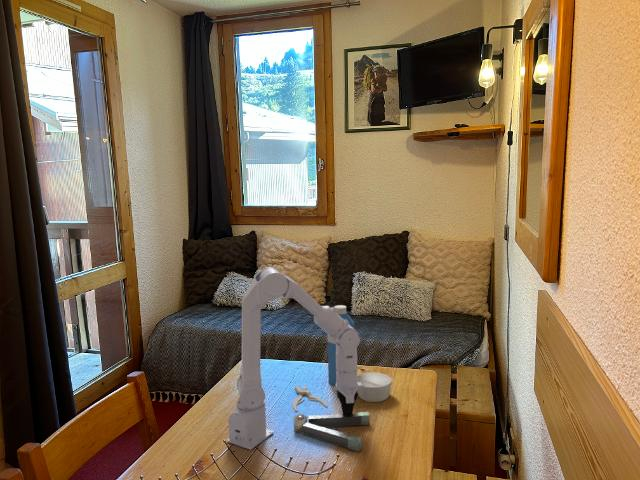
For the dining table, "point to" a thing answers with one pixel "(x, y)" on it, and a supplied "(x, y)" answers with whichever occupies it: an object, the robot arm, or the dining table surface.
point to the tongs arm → (340, 419)
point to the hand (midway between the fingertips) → (347, 416)
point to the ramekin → (374, 386)
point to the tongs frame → (327, 434)
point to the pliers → (305, 392)
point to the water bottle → (332, 345)
